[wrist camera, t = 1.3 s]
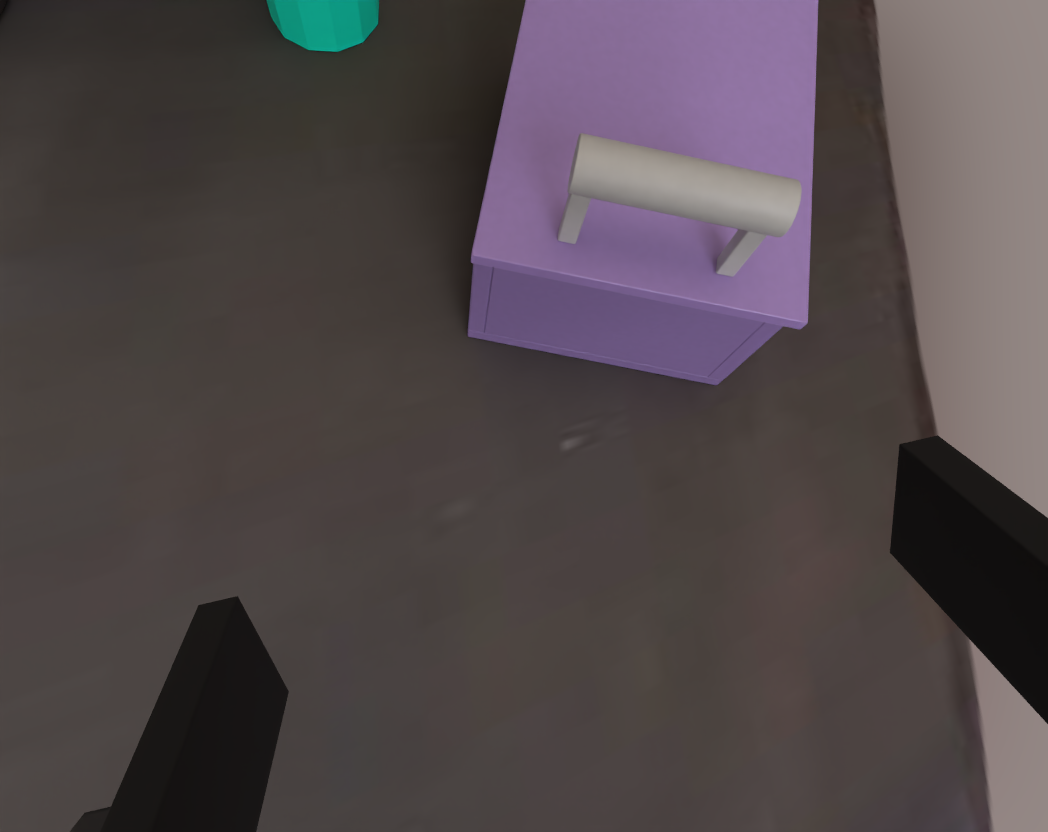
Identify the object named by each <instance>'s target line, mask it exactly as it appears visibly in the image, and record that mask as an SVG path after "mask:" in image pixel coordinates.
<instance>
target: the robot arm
mask: <svg viewBox="0 0 1048 832" xmlns="http://www.w3.org/2000/svg"><path fill="white" fill-rule="evenodd" d="M6 1H7V0H0V14H1V13H2V10H3V8H4V6H5V3H6ZM890 553H891V554H892V555H893V556H894V557H895V558H896V560H897V561H898V562H899V563H900V564H901V565H902V566H903V567H904V568H905V569H906V570H907V572H908V573H909V574H910V575H911V576H912V577H913V578H914V579H915V580H916V581H917V582H918V583H919V585H920V586H921V587H922V588H923V589H924V590H925V591H926V592H927V593H928V594H929V595H930V597H931V598H932V599H933V600H934V601H935V602H936V603H937V604H938V605H939V606H940V607H941V608H942V610H943V611H944V612H945V613H946V614H947V615H948V616H949V617H950V618H951V619H952V620H953V622H954V623H955V624H956V625H957V626H958V627H959V628H960V629H961V630H962V631H963V632H964V633H965V635H966V636H967V637H968V638H969V639H970V640H971V641H972V642H973V643H974V644H975V645H976V647H977V648H978V649H979V650H980V651H981V652H982V653H983V654H984V655H985V656H986V657H987V658H988V660H990V662H991V663H992V664H993V665H994V666H995V667H996V668H997V669H998V670H999V671H1000V673H1001V674H1002V675H1003V676H1004V677H1005V678H1006V679H1007V680H1008V681H1009V682H1010V684H1011V685H1012V686H1013V687H1014V688H1015V689H1016V690H1017V691H1018V692H1019V693H1020V694H1021V695H1022V696H1023V697H1024V699H1025V700H1026V701H1027V702H1028V703H1029V704H1030V705H1031V706H1032V707H1033V708H1034V710H1035V711H1036V712H1037V713H1038V714H1039V715H1040V716H1041V717H1042V718H1043V719H1044V720H1045V722H1046V723H1047V724H1048V518H1047V517H1045V516H1044V515H1043V514H1042V513H1040V512H1039V511H1037V510H1036V509H1035V508H1034V507H1032V506H1031V505H1030V504H1028V503H1027V502H1026V501H1024V500H1023V499H1022V498H1020V497H1019V496H1017V495H1016V494H1015V493H1014V492H1012V491H1011V490H1010V489H1008V488H1007V487H1006V486H1004V485H1003V484H1002V483H1000V482H999V481H997V480H996V479H995V478H994V477H992V476H991V475H990V474H988V473H987V472H986V471H984V470H983V469H982V468H980V467H979V466H978V465H976V464H975V463H974V462H972V461H971V460H970V459H968V458H967V457H966V456H964V455H963V454H962V453H960V452H959V451H958V450H956V449H955V448H954V447H952V446H951V445H950V444H948V443H947V442H946V441H944V440H943V439H942V438H940V437H939V436H934V437H930V438H925V439H921V440H916V441H912V442H908V443H903V444H900V445H899V457H898V468H897V480H896V491H895V502H894V514H893V525H892V536H891V548H890ZM288 692H289V691H288V689H287V687H286V686H285V684H284V682H283V680H282V678H281V676H280V674H279V673H278V671H277V669H276V667H275V665H274V663H273V661H272V660H271V658H270V656H269V654H268V652H267V650H266V648H265V646H264V645H263V643H262V641H261V639H260V637H259V635H258V633H257V632H256V630H255V628H254V626H253V624H252V622H251V620H250V619H249V617H248V615H247V613H246V611H245V609H244V607H243V605H242V604H241V602H240V600H239V598H238V596H237V597H232V598H228V599H224V600H219V601H215V602H211V603H206V604H202V605H198V608H197V610H196V612H195V615H194V617H193V619H192V621H191V624H190V626H189V628H188V631H187V633H186V635H185V638H184V640H183V642H182V645H181V647H180V649H179V651H178V654H177V656H176V658H175V661H174V663H173V665H172V668H171V670H170V672H169V674H168V677H167V679H166V681H165V684H164V686H163V688H162V691H161V693H160V695H159V697H158V700H157V702H156V704H155V707H154V709H153V711H152V714H151V716H150V718H149V721H148V723H147V725H146V727H145V730H144V732H143V734H142V737H141V739H140V741H139V744H138V746H137V748H136V750H135V753H134V755H133V757H132V760H131V762H130V764H129V767H128V769H127V771H126V773H125V776H124V778H123V780H122V783H121V785H120V787H119V790H118V792H117V794H116V797H115V799H114V801H113V803H112V806H111V807H108V808H103V809H99V810H95V811H90V812H86V813H84V814H83V816H82V817H81V818H80V819H79V821H78V822H77V823H76V825H75V826H74V827H73V828H72V830H71V831H70V832H256V830H257V826H258V821H259V817H260V813H261V808H262V804H263V800H264V796H265V791H266V787H267V783H268V778H269V774H270V770H271V765H272V761H273V757H274V753H275V748H276V744H277V740H278V735H279V731H280V727H281V722H282V718H283V714H284V710H285V705H286V701H287V697H288Z"/></svg>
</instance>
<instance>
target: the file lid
mask: <svg viewBox="0 0 1048 832" xmlns="http://www.w3.org/2000/svg"><path fill="white" fill-rule="evenodd" d="M817 22H818V0H526V1H525V6H524V10H523V15H522V20H521V24H520V29H519V34H518V38H517V43H516V48H515V52H514V57H513V62H512V66H511V71H510V76H509V80H508V85H507V90H506V94H505V99H504V104H503V108H502V113H501V118H500V122H499V127H498V132H497V136H496V141H495V146H494V150H493V155H492V160H491V164H490V169H489V174H488V178H487V183H486V188H485V192H484V197H483V202H482V206H481V211H480V216H479V220H478V225H477V230H476V234H475V239H474V244H473V248H472V253H471V263H474V264H479V265H484V266H489V267H494V268H499V269H504V270H509V271H514V272H519V273H524V274H529V275H534V276H538V277H543V278H548V279H553V280H558V281H563V282H568V283H573V284H578V285H583V286H588V287H593V288H598V289H603V290H608V291H612V292H617V293H622V294H627V295H632V296H637V297H642V298H647V299H652V300H657V301H662V302H667V303H672V304H677V305H681V306H686V307H691V308H696V309H701V310H706V311H711V312H716V313H721V314H726V315H731V316H736V317H741V318H746V319H751V320H755V321H760V322H765V323H770V324H775V325H780V326H785V327H790V328H795V329H801V328H802V327H804V326H805V325H806V324H807V323H808V298H809V268H810V237H811V206H812V176H813V145H814V114H815V83H816V53H817Z"/></svg>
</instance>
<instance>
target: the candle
mask: <svg viewBox="0 0 1048 832" xmlns="http://www.w3.org/2000/svg"><path fill="white" fill-rule="evenodd" d="M266 1H267V4H268V8H269V11H270V15H271V18H272V19H273V21H274V22H275V24H276V26H277V27H278V29H279V30H280V32H281V33H282V35H283V36H284V37H285V38H286V39H288V40H290V41H292V42H294V43H296V44H298V45H300V46H302V47H304V48H306V49H307V50H315V51H332V52H339V51H341V50H344V49H347V48H349V47H352V46H355V45H357V44H360V43H362V42H364V41H365V40H366V38H367V37H368V36H369V35H370V33H371V32H372V31H373V30H374V29H375V27H376V26H377V25H378V17H379V0H266Z"/></svg>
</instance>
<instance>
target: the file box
mask: <svg viewBox="0 0 1048 832" xmlns="http://www.w3.org/2000/svg"><path fill="white" fill-rule="evenodd" d="M782 327H783V326H780V325H775V324H770V323H765V322H760V321H755V320H751V319H746V318H741V317H736V316H731V315H726V314H721V313H716V312H711V311H706V310H701V309H696V308H691V307H686V306H681V305H677V304H672V303H667V302H662V301H657V300H652V299H647V298H642V297H637V296H632V295H627V294H622V293H617V292H612V291H608V290H603V289H598V288H593V287H588V286H583V285H578V284H573V283H568V282H563V281H558V280H553V279H548V278H543V277H538V276H534V275H529V274H524V273H519V272H514V271H509V270H504V269H499V268H494V267H489V266H484V265H479V264H474V263H473V272H472V284H471V297H470V309H469V322H468V334H467V335H468V337H473V338H478V339H483V340H488V341H493V342H498V343H503V344H508V345H513V346H519V347H524V348H529V349H534V350H539V351H544V352H549V353H554V354H559V355H564V356H569V357H575V358H580V359H585V360H590V361H595V362H600V363H605V364H610V365H615V366H620V367H625V368H631V369H636V370H641V371H646V372H651V373H656V374H661V375H666V376H671V377H676V378H681V379H687V380H692V381H697V382H702V383H707V384H712V385H718V384H719V383H720V382H721V381H722V380H724V379H725V378H726V377H727V376H728V375H729V374H730V373H731V372H733V371H734V370H735V369H736V368H737V367H738V366H739V365H740V364H742V363H743V362H744V361H745V360H746V359H747V358H748V357H749V356H750V355H752V354H753V353H754V352H755V351H756V350H757V349H758V348H759V347H761V346H762V345H763V344H764V343H765V342H766V341H767V340H768V339H770V338H771V337H772V336H773V335H774V334H775V333H776V332H777V331H778V330H780V329H781V328H782Z"/></svg>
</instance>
